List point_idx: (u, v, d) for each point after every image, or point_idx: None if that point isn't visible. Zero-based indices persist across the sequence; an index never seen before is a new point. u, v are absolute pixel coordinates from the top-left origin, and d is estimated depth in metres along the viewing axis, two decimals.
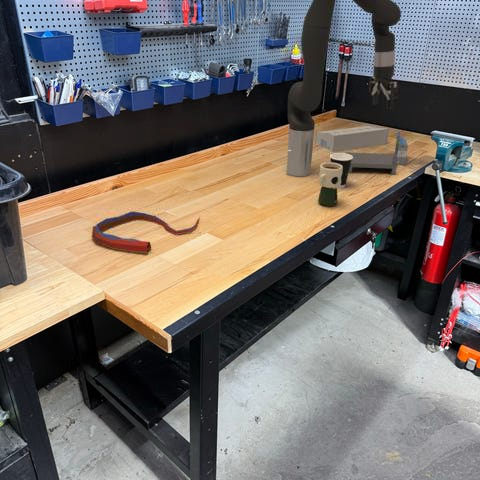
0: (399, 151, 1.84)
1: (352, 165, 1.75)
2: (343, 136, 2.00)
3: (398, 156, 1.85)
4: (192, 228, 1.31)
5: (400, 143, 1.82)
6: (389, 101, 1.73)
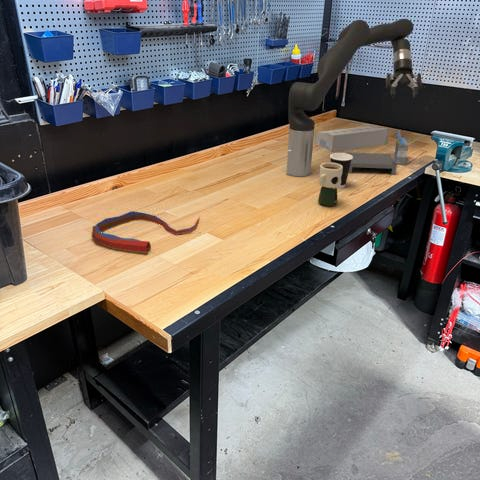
0: (399, 151, 1.84)
1: (352, 165, 1.75)
2: (342, 136, 2.00)
3: (398, 156, 1.85)
4: (192, 228, 1.31)
5: (400, 143, 1.82)
6: None
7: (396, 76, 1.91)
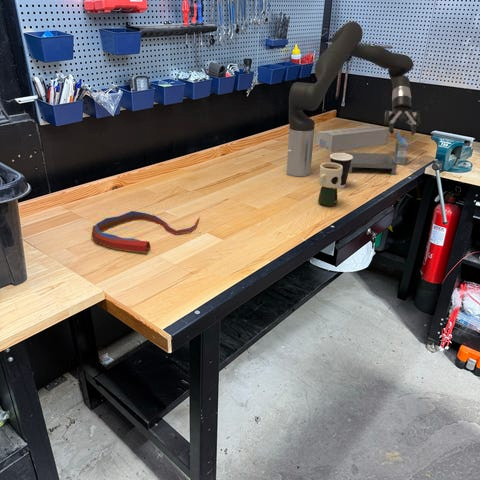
0: (399, 151, 1.84)
1: (352, 165, 1.75)
2: (342, 136, 2.00)
3: (398, 156, 1.85)
4: (192, 228, 1.31)
5: (400, 143, 1.82)
6: None
7: (395, 113, 1.91)
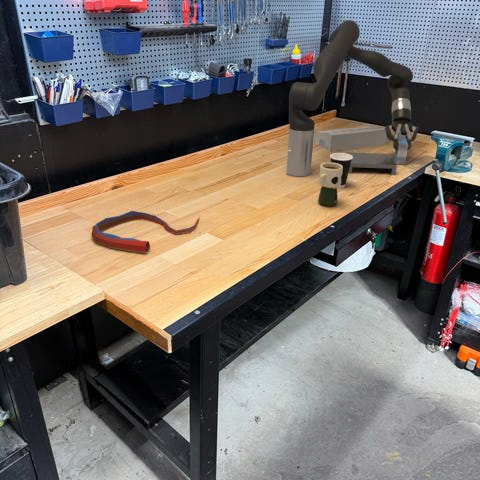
0: (399, 151, 1.84)
1: (352, 165, 1.75)
2: (341, 136, 2.00)
3: (398, 156, 1.85)
4: (192, 228, 1.31)
5: (400, 143, 1.82)
6: None
7: (395, 127, 1.87)
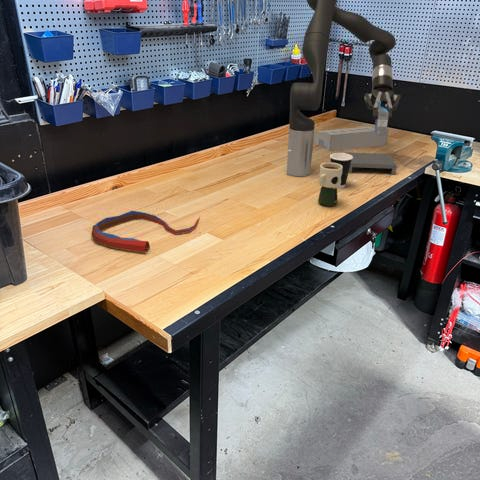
0: (379, 120, 1.70)
1: (352, 165, 1.75)
2: (340, 136, 2.00)
3: (378, 126, 1.71)
4: (191, 228, 1.31)
5: (380, 111, 1.68)
6: None
7: (375, 95, 1.74)
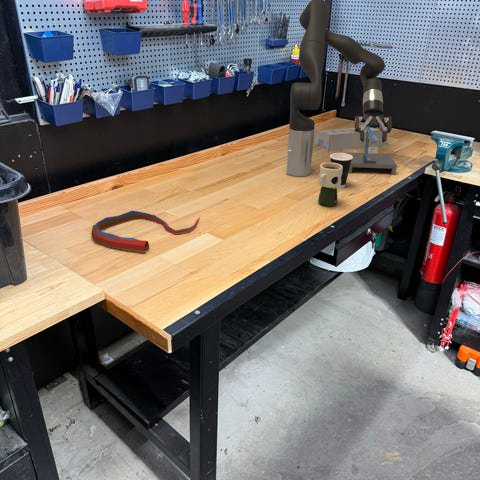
0: (370, 147, 1.74)
1: (352, 165, 1.75)
2: (339, 135, 2.01)
3: (369, 152, 1.75)
4: (191, 228, 1.31)
5: (371, 139, 1.72)
6: None
7: (365, 118, 1.77)
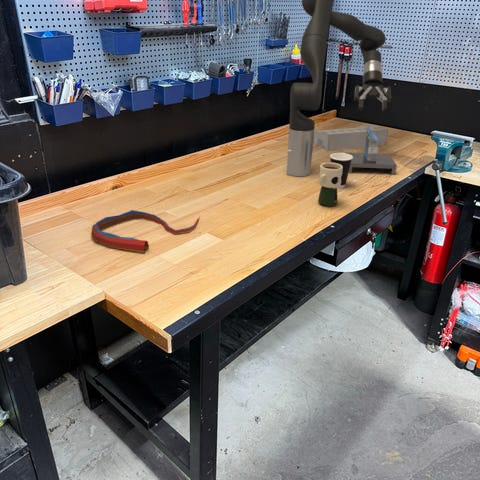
0: (370, 147, 1.74)
1: (352, 165, 1.75)
2: (338, 135, 2.01)
3: (369, 152, 1.75)
4: (191, 228, 1.31)
5: (371, 139, 1.72)
6: None
7: (365, 88, 1.82)
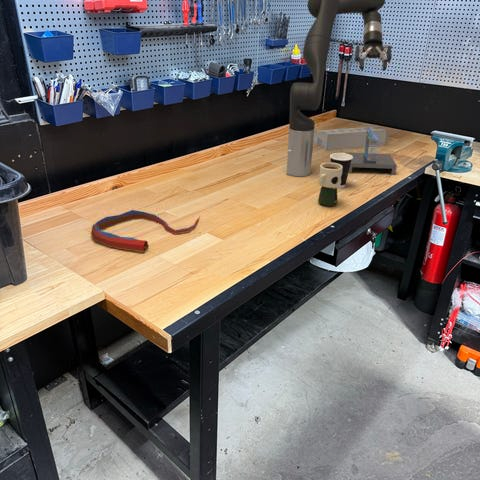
0: (370, 147, 1.74)
1: (352, 165, 1.75)
2: (337, 135, 2.01)
3: (369, 152, 1.75)
4: (191, 228, 1.31)
5: (371, 139, 1.72)
6: None
7: (365, 49, 1.85)
